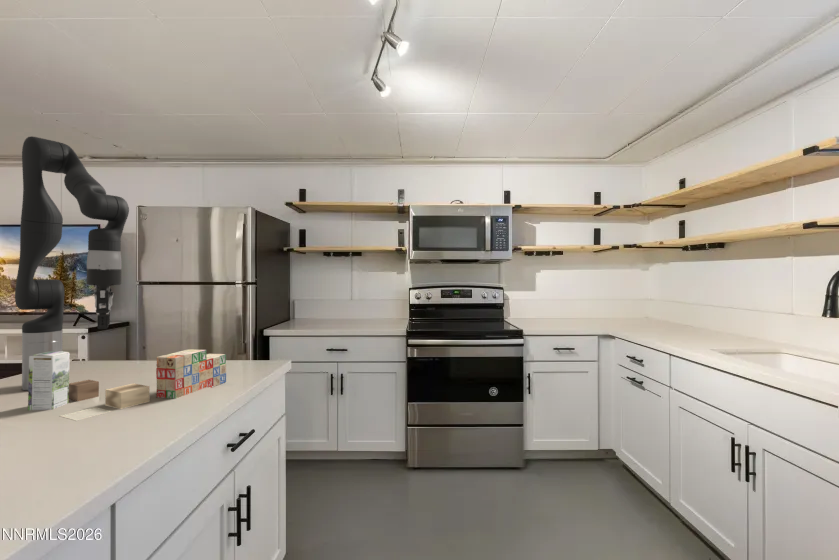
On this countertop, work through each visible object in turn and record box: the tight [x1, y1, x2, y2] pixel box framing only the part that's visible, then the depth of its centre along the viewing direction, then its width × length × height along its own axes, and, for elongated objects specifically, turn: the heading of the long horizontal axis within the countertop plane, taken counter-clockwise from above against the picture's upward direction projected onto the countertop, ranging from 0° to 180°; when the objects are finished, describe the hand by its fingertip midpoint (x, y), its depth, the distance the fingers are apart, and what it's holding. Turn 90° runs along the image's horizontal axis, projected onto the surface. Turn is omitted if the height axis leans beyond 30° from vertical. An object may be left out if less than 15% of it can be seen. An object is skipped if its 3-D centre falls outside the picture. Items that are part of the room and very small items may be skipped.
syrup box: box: [27, 350, 71, 411], centre depth 106 cm, size 6×6×14 cm
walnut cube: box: [69, 379, 100, 402], centre depth 113 cm, size 5×5×5 cm
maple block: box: [104, 382, 150, 410], centre depth 109 cm, size 7×7×4 cm
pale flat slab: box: [60, 400, 151, 422], centre depth 106 cm, size 15×17×1 cm
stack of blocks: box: [155, 348, 227, 399], centre depth 124 cm, size 21×6×12 cm, turn 169°
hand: (103, 327), depth 112 cm, fingers open, 8 cm apart
